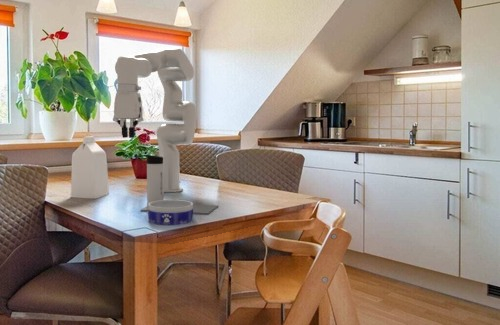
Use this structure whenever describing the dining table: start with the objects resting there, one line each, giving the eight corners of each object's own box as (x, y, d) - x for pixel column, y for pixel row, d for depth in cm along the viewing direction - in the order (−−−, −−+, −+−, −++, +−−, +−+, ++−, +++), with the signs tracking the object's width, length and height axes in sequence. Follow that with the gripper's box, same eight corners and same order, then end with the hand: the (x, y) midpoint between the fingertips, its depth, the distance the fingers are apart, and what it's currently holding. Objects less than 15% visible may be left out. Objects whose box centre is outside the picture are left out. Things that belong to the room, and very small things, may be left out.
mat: (155, 203, 192) (155, 202, 192) (218, 206, 187) (218, 205, 187) (140, 211, 177) (140, 209, 177) (207, 214, 172) (207, 213, 172)
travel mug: (145, 205, 186) (144, 154, 184) (161, 204, 188) (161, 153, 186) (147, 208, 180) (147, 155, 178) (165, 206, 182) (164, 155, 180)
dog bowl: (194, 215, 171) (194, 199, 170) (191, 225, 156) (191, 207, 155) (152, 215, 170) (152, 199, 170) (144, 225, 155) (144, 207, 154)
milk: (95, 198, 202) (94, 137, 200) (71, 197, 204) (69, 136, 202) (109, 193, 214) (108, 136, 211) (85, 192, 216) (84, 135, 214)
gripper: (151, 90, 183) (151, 137, 185) (112, 89, 186) (113, 136, 188) (143, 89, 176) (143, 138, 178) (103, 88, 179) (104, 137, 181)
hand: (128, 137), depth 183 cm, fingers closed
